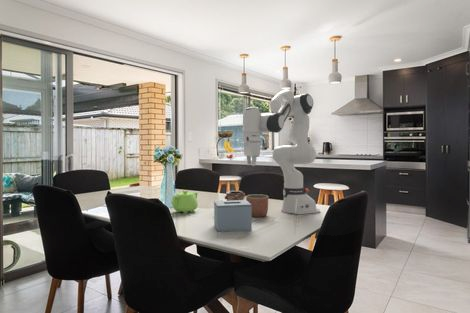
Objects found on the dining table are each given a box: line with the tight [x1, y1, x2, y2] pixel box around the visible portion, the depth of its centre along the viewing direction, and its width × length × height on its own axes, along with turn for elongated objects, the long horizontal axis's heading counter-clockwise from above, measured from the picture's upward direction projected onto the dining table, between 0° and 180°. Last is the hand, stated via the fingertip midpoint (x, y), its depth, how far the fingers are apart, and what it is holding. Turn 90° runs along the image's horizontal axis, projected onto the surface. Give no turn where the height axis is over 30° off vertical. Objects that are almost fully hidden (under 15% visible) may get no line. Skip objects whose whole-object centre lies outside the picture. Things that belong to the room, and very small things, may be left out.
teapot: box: [171, 190, 199, 215], centre depth 188 cm, size 20×13×13 cm
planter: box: [245, 194, 269, 218], centre depth 177 cm, size 12×12×11 cm
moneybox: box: [213, 199, 253, 233], centre depth 152 cm, size 16×12×12 cm
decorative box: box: [224, 190, 246, 201], centre depth 203 cm, size 13×20×10 cm, turn 155°
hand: (251, 165), depth 164 cm, fingers open, 8 cm apart
